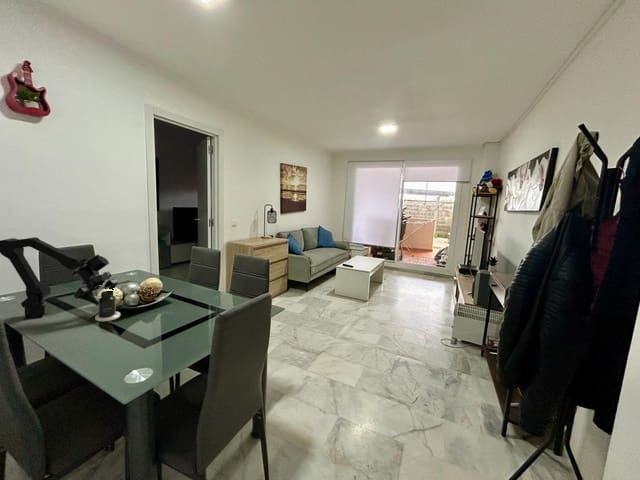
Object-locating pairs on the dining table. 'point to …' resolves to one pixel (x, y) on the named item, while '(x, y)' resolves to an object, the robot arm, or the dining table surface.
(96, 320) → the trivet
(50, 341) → the dining table surface
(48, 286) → the robot arm
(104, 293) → the supplement bottle
